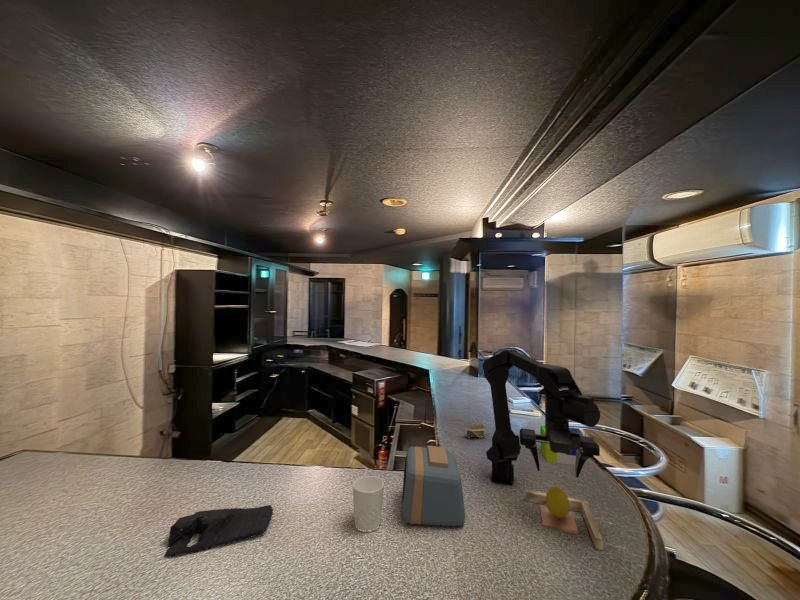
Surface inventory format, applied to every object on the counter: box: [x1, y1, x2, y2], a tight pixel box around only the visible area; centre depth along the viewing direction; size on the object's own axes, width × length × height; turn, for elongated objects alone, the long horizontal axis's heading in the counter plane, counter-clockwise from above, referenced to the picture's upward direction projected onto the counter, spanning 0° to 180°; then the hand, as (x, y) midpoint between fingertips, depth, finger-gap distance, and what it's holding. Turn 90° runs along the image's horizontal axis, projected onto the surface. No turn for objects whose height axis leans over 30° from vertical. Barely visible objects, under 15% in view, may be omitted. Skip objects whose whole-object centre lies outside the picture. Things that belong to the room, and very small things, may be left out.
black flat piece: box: [163, 504, 274, 558], centre depth 76 cm, size 15×22×5 cm
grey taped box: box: [401, 445, 466, 527], centre depth 86 cm, size 16×16×16 cm
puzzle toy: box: [539, 425, 576, 466], centre depth 120 cm, size 10×10×10 cm
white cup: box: [352, 475, 385, 531], centre depth 79 cm, size 8×8×10 cm
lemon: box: [545, 486, 570, 519], centre depth 82 cm, size 6×6×8 cm
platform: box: [464, 423, 487, 439], centre depth 137 cm, size 12×18×7 cm, turn 101°
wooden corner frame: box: [525, 489, 604, 551], centre depth 82 cm, size 16×16×2 cm
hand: (557, 473), depth 83 cm, fingers open, 9 cm apart
